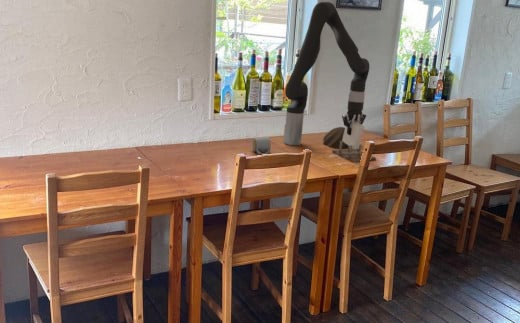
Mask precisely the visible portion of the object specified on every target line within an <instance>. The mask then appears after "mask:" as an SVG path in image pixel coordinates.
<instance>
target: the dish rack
mask: <svg viewBox="0 0 520 323" xmlns="http://www.w3.org/2000/svg"><path fill="white" fill-rule="evenodd" d="M342 142H343V141H340V147H339V149H334V150H333V149H332V150H331V153H332V154H334V155H336V156H338V157H340V158H342V159H345V160H347V161H349V162H351V163H354V164H355V163H361V162H360V160H361V156H362V153H364V151H362V144H360V146H359V149H353V148H352V145H350V146H348V149H342ZM371 156H372V155H371ZM374 161H377V157H375V156H372V158H371V161H370V162H374Z"/></svg>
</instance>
